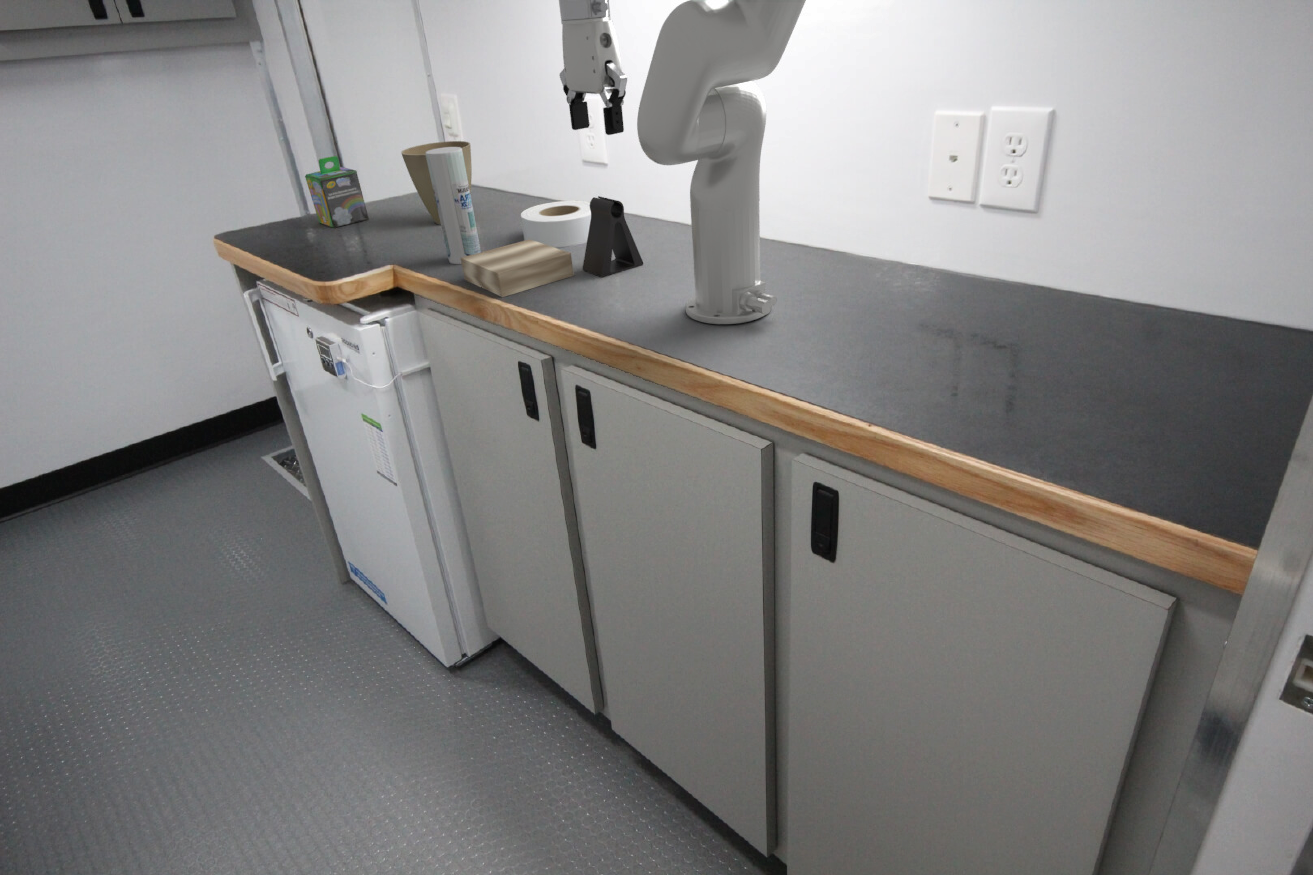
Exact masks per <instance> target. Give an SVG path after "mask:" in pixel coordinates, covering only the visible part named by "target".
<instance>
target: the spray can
mask: <svg viewBox="0 0 1313 875" xmlns="http://www.w3.org/2000/svg"><path fill="white" fill-rule="evenodd" d="M425 154H426V159H427V164H428V168H429V173H430V177H431V182H432V186H433V191H434V195H435V200H436V204H437V209H438V213H439V218H440V223H441V224H440V227H441V232H442V236H443V240H444V244H445V250H446V253H447V258H448V261H449V263H450V264H452V265H462V263H461V258H462V257H465V256H469V255H473V254H477V253H480V252H482V251H481V245H480V240H479V235H478V229H477V223H476V218H475V213H474V212H475V211H474V206H473V200H472V196H471V195H470V190H469V184H468V179H467V174H466V168H465V163H464V157H463V152H462V148H460V147H444V148H437V149H432V150H429V151H427V152H426V153H425Z"/></svg>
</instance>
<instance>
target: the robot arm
mask: <svg viewBox="0 0 1313 875" xmlns="http://www.w3.org/2000/svg"><path fill="white" fill-rule="evenodd" d="M558 4H559V5H558V6H559V12H560V23H561V25H562V27H561V28H562V32H561V33H562V38H561V40H562V57H563V58H562V59H563V69H562V70H561V72H560V73H559V78H560V82H561V84H562V86H563V88H562V90H563V92H564V94H565V96H566V98H565V99H566V102H567V104H568V107H569V109H568V110H569V115H570V116H569V117H570V124H571V129H572V130H573V131H578V130H583V129H587V128H589V127H590V116H589V108H588V101H585V99H586V95H587V94H592V95H598V94H599V96H600V98H601V100H602V101H603V103H604V104H603V105H605V106H604V107H603V108H602V110H603V113H602V114H603V121H604V130H605V134H606V135H607V136H611V135H615V134H617V135H618V134H622V133H623V132H624V131H625V127H624V119H623V118H624V117H623V105H624V103H625V101H624V99H625V96H626V88H627V83H628V77H627V75H626V74H625V73H624V72H623V67H622V62H621V55H620V54H621V53H620V49H619V48H620V46H619V42H618V37H617V33H616V28H615V26H614V21H613V20H612V19H611V10H610V9H611V8H610V0H558ZM805 4H806V0H687V1H685V2H681V4H678V6H676V7H675V8H674V9H672V11H671V12H670V13H669V14H668V15H667V17H666V19H665V20H664V22H663V24H662V26H661V29H660V30H659V33H658V37H657V40H656V43H655V46H654V51H653V54H652V57H651V61H650V65H649V68H648V72H647V76H646V79H645V83H644V86H643V90H642V94H641V97H640V101H639V107H638V112H637V120H636V121H637V122H636V128H637V130H636V131H637V137H638V141H639V145H640V146H641V149H642V152H644V154H645V156H646V157H647V158H648V159H649V160H651V161H652V162H654V163H656V164H659V165H662V166H676V165H677V166H678V165H681V164H682V165H683V164H686V163H690V162H696V161H697V162H696V164H695V168H694V170H693V173H692V176H691V182H690V187H689V199H690V200H689V203H690V204H689V206H690V221H691V222H690V223H691V239H692V256H693V258H692V259H693V272H694V273H693V274H694V275H693V276H694V291H695V294H694V295H693V296H691V297H690V298H689V299H688V300H687V301H686V303H685V313H686V314H687V316H688V317H689V318H691V319H693V320H695V321H696V322H697V321H698V322H701V323H704V324H705V323H706V324H709V325H711V324H713V325H734V324H737V325H738V324H744V323H747V322H748V323H749V322H752V321H754V320H755V321H756V320H758V319H761V318H763V317H764V316H766V315H768V314H769V313H771V311H772V307H774V306H775V305H777V302H778V298H777V296H775V295H773V294H768V293H766V281H763V280H761V241H760V240H761V239H760V237H761V234H760V231H761V230H760V229H761V228H760V226H761V225H760V224H761V223H760V198H761V197H760V171H761V170H760V168H761V155H762V149H763V148H762V147H763V143H764V136H765V131H766V124H767V105H766V100H765V98H764V95H763V92H762V91H761V89H760V88H759V86H758V85H757V83H756V82H754V81H759V80H761V79H763V78H766V77H768V76H769V75H771V74H772V73H773V71H775V69H776V68H777V67H778V65H779V63H780V61H781V59H782V57H783V55H784V53H785V50H786V48H787V46H788V44H789V41H790V39H791V37H792V34H793V31H794V29H795V26H796V24H797V22H798V19H799V17H800V16H801V13H802V11H803V8H804V5H805ZM609 94H610V95H609Z"/></svg>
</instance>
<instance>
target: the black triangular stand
mask: <svg viewBox="0 0 1313 875" xmlns="http://www.w3.org/2000/svg"><path fill="white" fill-rule="evenodd" d="M589 202H590V210H591V221H590V227H589V233H588V239H587V242H586V246H585V252H584V258H583V263H582V271H584V272H586V273H588V274H589V273H590V274H592V275H594V276H598V277H600V278H607V277H609V276H612V275H616V274H618V273H622V272H626V271H628V270H632V269H635V268H638V267H642V266H644V260H643V259H642V256H641V254H640V252H639V249H638V247H637V244H636V242H635V240H634V237H633V235H632V233H631V230H630V228H629V226H628V225H629V224H628V223H627V221H626V217H625V207H624V204H623V203H622V202H621V201H620V200H617V199H612V198H608V197H604V196H599V195H598V196H597V197H592V198H591V199H590V201H589ZM612 255H614V259H612V258H613V257H612Z"/></svg>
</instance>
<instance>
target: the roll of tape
mask: <svg viewBox="0 0 1313 875" xmlns="http://www.w3.org/2000/svg"><path fill="white" fill-rule="evenodd" d="M520 221H521V227H522V234H523V241H525V240H529V239H530V240H533V241H536V242H539V243H542V244H545V245H548V246H551V247H554V248H557V249H559V248H566V247H574V246H579V245H583V244H587V239H588V233H589V227H590V221H591V210H590V201H584V200H562V201H561V200H560V201H553V202H546V203H541V204H537V205H534V206H531V207H529V208H527V209H524V210H523V211H521V213H520Z"/></svg>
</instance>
